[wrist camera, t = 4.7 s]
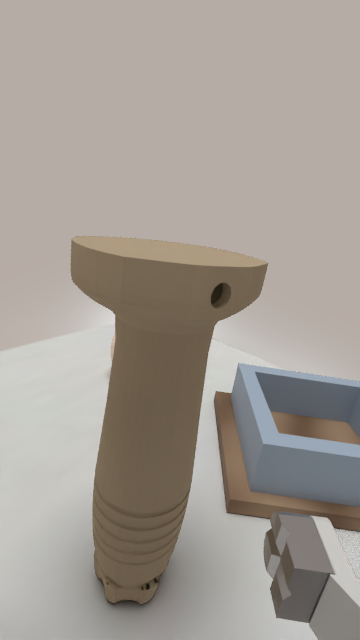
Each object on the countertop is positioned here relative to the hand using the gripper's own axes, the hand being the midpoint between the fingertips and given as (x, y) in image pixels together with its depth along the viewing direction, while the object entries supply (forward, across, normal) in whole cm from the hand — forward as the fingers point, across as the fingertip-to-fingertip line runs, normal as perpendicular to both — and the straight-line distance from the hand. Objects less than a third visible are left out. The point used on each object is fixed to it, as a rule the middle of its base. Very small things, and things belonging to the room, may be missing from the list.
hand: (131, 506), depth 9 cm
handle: (+4, 0, +8) cm, 9 cm away
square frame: (+14, -12, +8) cm, 20 cm away
